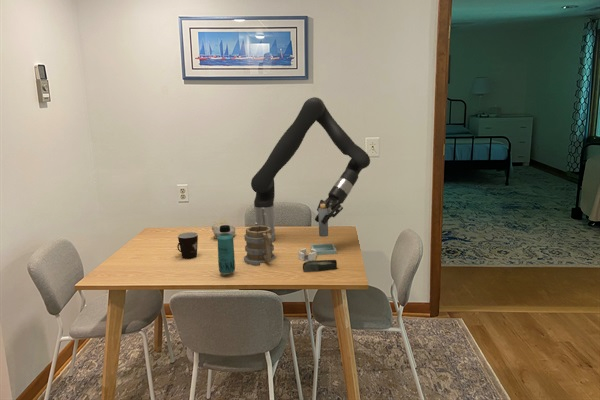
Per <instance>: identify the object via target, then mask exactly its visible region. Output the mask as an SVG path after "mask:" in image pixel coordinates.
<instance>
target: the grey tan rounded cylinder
mask: <svg viewBox="0 0 600 400" xmlns="http://www.w3.org/2000/svg"><path fill="white" fill-rule="evenodd" d="M327 211H328V208H325V204H320V208H319V209H318V211H317V215H318V216H319V222H318V236H319V237H323V238H326V237H328V236H329V220H328V221H327V223H326V224H323V223H322V222H321V221H322V219H323V218H324V216H325V215H326V214H327Z"/></svg>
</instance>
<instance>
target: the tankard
mask: <svg viewBox="0 0 600 400" xmlns="http://www.w3.org/2000/svg"><path fill="white" fill-rule="evenodd" d="M243 236H244V241H245V242H246V243H245V244H246V245H245V246H244V250H245V252H246V255H244V256H243V260H244V261H245V263H246V264H247V265H251V266H261V264H265V263H270V262H272V261H273V260H275V259H276V258H277V256H276V255H275V254H274V253H273V251H274V250H275V248H274V247H275V246H274V244H273V242H272V240H273V234H272V229H271V228H270V227H269V226H261V225H260V226H259V225H258V226H255V225H252V226H249V227H246V229H245V234H244V235H243Z"/></svg>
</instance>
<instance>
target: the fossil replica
mask: <svg viewBox="0 0 600 400" xmlns="http://www.w3.org/2000/svg"><path fill="white" fill-rule="evenodd" d="M222 225H229V226H230V232H225V233H230V234H231V235H233V237H234V236H235V234H236V227H235V226H234V225H231V224H229V223H228V221H226V220H222V221H217V222H215V221H214V223H213V224H212V226H211V230H212V233H213V234H214V237H215V238H216V239H217V237H218V236H219V235H220V234H222V233H223V232H220V226H222Z"/></svg>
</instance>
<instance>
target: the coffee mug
mask: <svg viewBox="0 0 600 400" xmlns="http://www.w3.org/2000/svg"><path fill="white" fill-rule="evenodd" d="M198 236H199V234H198V233H197V232H194V231H190V232H189V231H188V232H182V233H179V234H177V239H178V243H177V246H176V248H177V251H178V252H179V253H180V254H181V258H182V259H183V260H193V259H196V258H197V256H198V240H199V237H198Z"/></svg>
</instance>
